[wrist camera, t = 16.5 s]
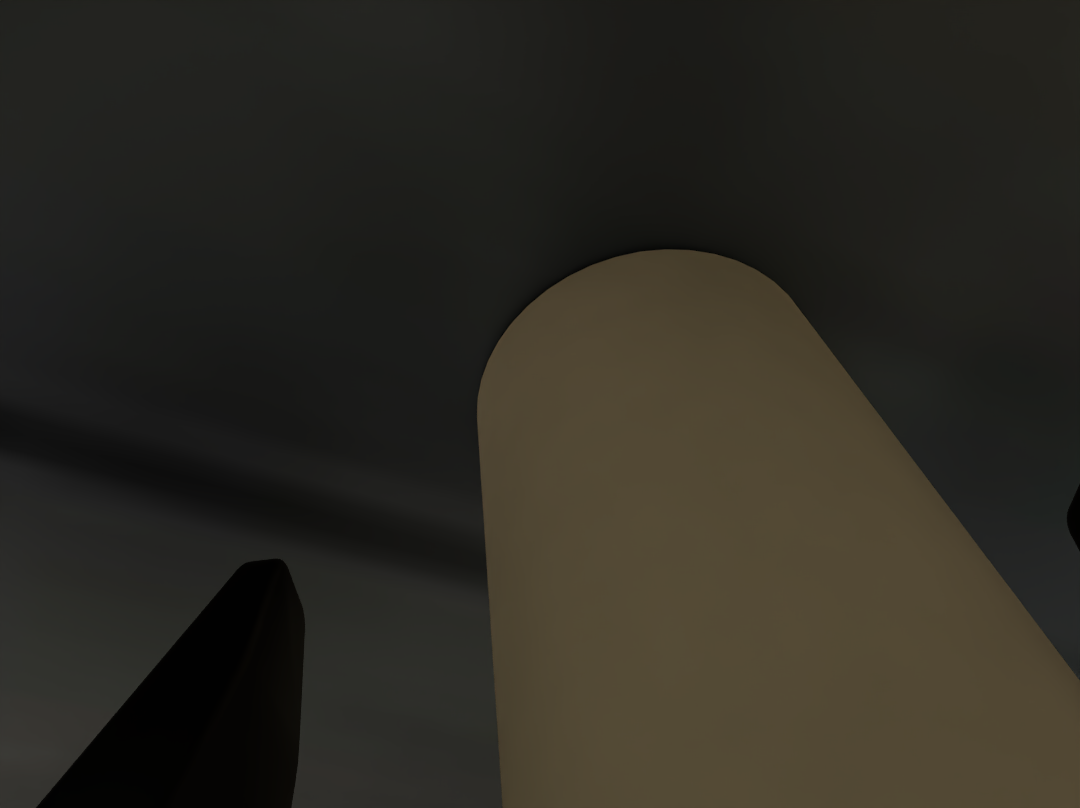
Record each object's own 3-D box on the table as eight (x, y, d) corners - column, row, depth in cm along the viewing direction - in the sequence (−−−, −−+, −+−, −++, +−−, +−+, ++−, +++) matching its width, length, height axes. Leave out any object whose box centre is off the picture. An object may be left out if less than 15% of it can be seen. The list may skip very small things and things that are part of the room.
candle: (838, 462, 12) (1210, 1046, 6) (551, 564, 12) (646, 1179, 7) (777, 185, 9) (1334, 766, 3) (415, 333, 10) (382, 1030, 4)
